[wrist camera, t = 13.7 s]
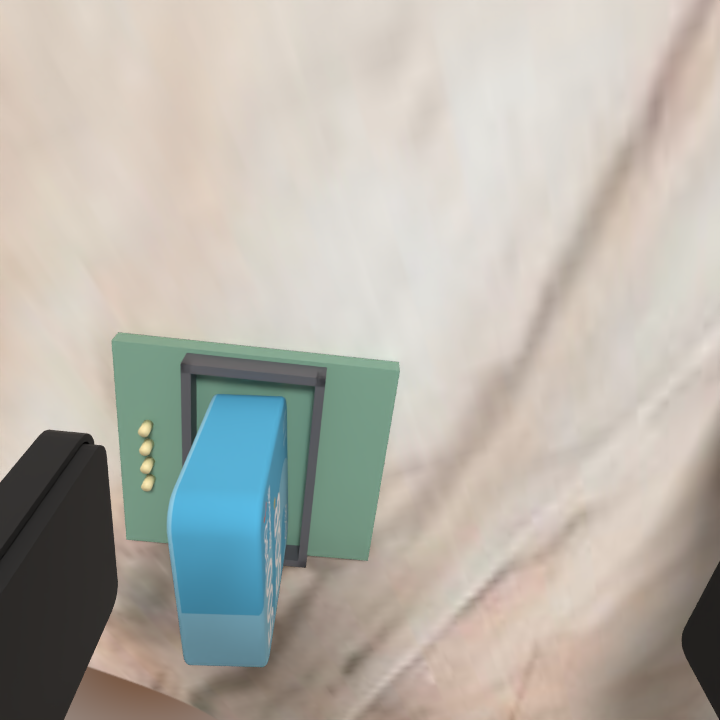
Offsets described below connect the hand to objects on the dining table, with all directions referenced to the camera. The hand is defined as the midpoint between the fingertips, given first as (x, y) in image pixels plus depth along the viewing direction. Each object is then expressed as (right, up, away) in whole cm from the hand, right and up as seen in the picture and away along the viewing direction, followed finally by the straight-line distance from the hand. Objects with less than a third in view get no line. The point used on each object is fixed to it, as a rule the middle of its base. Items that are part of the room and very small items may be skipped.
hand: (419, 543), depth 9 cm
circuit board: (-8, -4, +34) cm, 35 cm away
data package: (-8, -4, +33) cm, 34 cm away
